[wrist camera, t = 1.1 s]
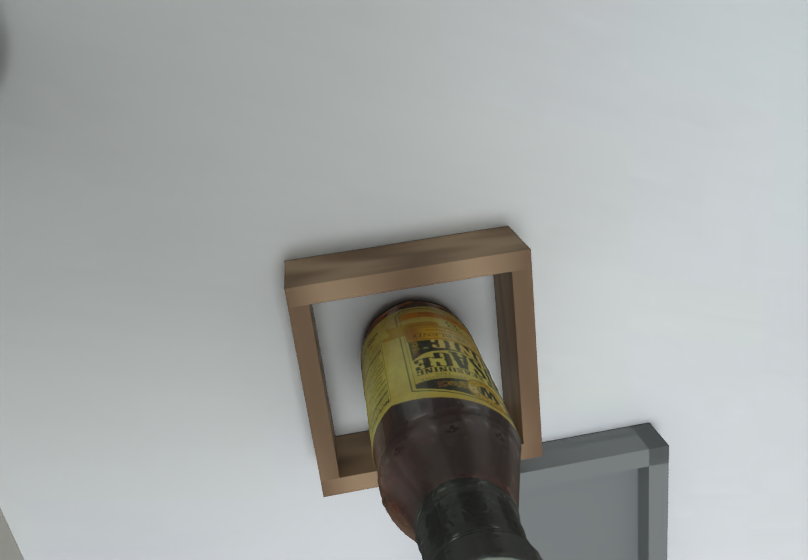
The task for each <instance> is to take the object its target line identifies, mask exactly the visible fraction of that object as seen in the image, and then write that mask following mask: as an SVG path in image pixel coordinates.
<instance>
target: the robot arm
mask: <svg viewBox="0 0 808 560" xmlns="http://www.w3.org/2000/svg"><path fill="white" fill-rule="evenodd" d="M0 560H24V558H23V556H22V554H21V552H20V550H19V548H18V545H17V543H16V541H15V539H14V537H13V535H12V532H11V530H10V528H9V526H8V524H7V521H6V519H5V517H4V515H3V513H2V511H1V508H0Z"/></svg>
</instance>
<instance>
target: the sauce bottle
mask: <svg viewBox="0 0 808 560" xmlns="http://www.w3.org/2000/svg"><path fill="white" fill-rule="evenodd" d="M361 369H362V378H363V386H364V395H365V400H366V407H367V416H368V425H369V432H370V440H371V448H372V456H373V461H374V465H375V468H376V470H377V474H378V480H377V481H378V485H379V490H380V495H381V497H382V503H383V506H384V507H385V508H386V511H387V512H388V514H389V515H390V517H391V519H392V520H393V522H394V523H395V524H396V525H397V526H398V527H399V529H400V530H401V531H403V532H404V533H405V535H407V536H408V537H409V538H411V539H412V540H414V541H415V542H416V543H417V544H418V547H419V551H420V553H421V555H422V559H423V560H543V559H542V558H541V556H540V554H539V552H538V551H537V550H536V549H535V548H534V547H533V546H532V545H531V544H530V542H529V541H528V540H527V538H526V534H525V531H524V529H523V527H522V525H521V521H520V515H519V491H520V464H521V450H522V448H521V440H520V437H519V435H518V432H517V430H516V428H515V425H514V423H513V421H512V419H511V417H510V415H509V413H508V410H507V409H506V407H505V405H504V403H503V401H502V398H501V397H500V394H499V392H498V389H497V387H496V386H495V384H494V382H493V380H492V378H491V375H490V373H489V370H488V369H487V367H486V365H485V363H484V361H483V359H482V357H481V355H480V353H479V351H478V349H477V347H476V345H475V343H474V341H473V338H472V336H471V334H470V333H469V331H468V330H467V328H466V327H465V326H464V325H463V324H462V323H461V322H460V321H459V319H458V318H457V317H456V316H454V315H453V314H452V313H451V312H450V311H449V310H448V309H446V308H445V307H441V306H439V305H436V304H432V303H427V302H422V301H421V302H411V301H408V302H405V303H402V304H399V305H397V306H395V307H393V308H392V309H390V310H388V311H387V312H385V313H384V314H382V315H381V316H379V317H378V318H377V319H376V320H375V321H374V322H373V323H372V324H371V326H370V328H369V330H368V332H367V335H366V336H365V341H364V345H363V348H362V353H361Z"/></svg>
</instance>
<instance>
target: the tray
mask: <svg viewBox="0 0 808 560" xmlns="http://www.w3.org/2000/svg"><path fill="white" fill-rule="evenodd" d="M542 455H543V456H540V457H535V458H530V459H524V460H521V464H520V491H519V515H520V521H521V525H522V527H523V529H524V531H525V534H526V538H527V540H528V541H529V542H530V544H531V545H532V546H533V547H534V548H535V549H536V550H537V551H538V552H539V554H540V556H541V558H542V559H543V560H667V528H668V465H669V445H668V444H667V443H666V442H665V440H664V439H663V438H662V437H661V436H660V434H659V433H658V432H657V431H656V430H655V429H654V427H653V426H652V425H651V424H650V423H646V424H641V425H635V426H630V427H625V428H619V429H614V430H608V431H603V432H598V433H592V434H587V435H582V436H576V437H571V438H565V439H560V440H555V441H549V442H544V443H542Z"/></svg>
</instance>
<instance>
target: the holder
mask: <svg viewBox="0 0 808 560" xmlns="http://www.w3.org/2000/svg"><path fill="white" fill-rule="evenodd" d="M488 275H494V285H495V298H496V310H497V323H498V336H499V349H500V362H501V375H502V388H503V401H504V405H505V407H506V409H507V410H508V413H509V415H510V417H511V419H512V421H513V423H514V425H515V428H516V430H517V432H518V435H519V437H520V440H521V448H522V450H521V460H524V459H530V458H535V457H540V456H543V455H542V437H541V420H540V403H539V385H538V368H537V350H536V333H535V315H534V298H533V280H532V263H531V249H530V248H529V247H528V246H527V245H526V244H525V243H524V242H523V241H522V240H521V239H520V238H519V237H518V235H517V234H516V233H515V232H514V231H513V230H512V229H511V228H510V227H509V226H505V227H499V228H492V229H486V230H479V231H473V232H467V233H460V234H454V235H448V236H441V237H435V238H429V239H422V240H416V241H410V242H403V243H397V244H391V245H384V246H378V247H371V248H365V249H359V250H352V251H346V252H340V253H333V254H327V255H321V256H314V257H308V258H302V259H295V260H289V261H285V276H284V290H285V295H286V300H287V306H288V311H289V316H290V321H291V327H292V332H293V337H294V343H295V348H296V353H297V358H298V364H299V369H300V374H301V380H302V385H303V390H304V395H305V401H306V406H307V411H308V417H309V422H310V427H311V432H312V438H313V443H314V448H315V454H316V459H317V464H318V469H319V475H320V480H321V485H322V491H323V496H324V497H327V496H332V495H337V494H343V493H348V492H353V491H359V490H364V489H369V488H375V487H379V485H378V481H377V480H378V474H377V470H376V468H375V465H374V461H373V456H372V448H371V440H370V432H369V431H364V432H359V433H353V434H348V435H342V436H336V437H335V432H334V427H333V421H332V415H331V410H330V404H329V398H328V393H327V387H326V381H325V376H324V370H323V364H322V359H321V353H320V347H319V342H318V336H317V330H316V325H315V319H314V313H313V307H312V304H316V303H322V302H328V301H335V300H341V299H347V298H353V297H359V296H365V295H371V294H378V293H384V292H390V291H396V290H402V289H408V288H414V287H420V286H427V285H433V284H439V283H445V282H451V281H457V280H463V279H469V278H476V277H482V276H488Z"/></svg>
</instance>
